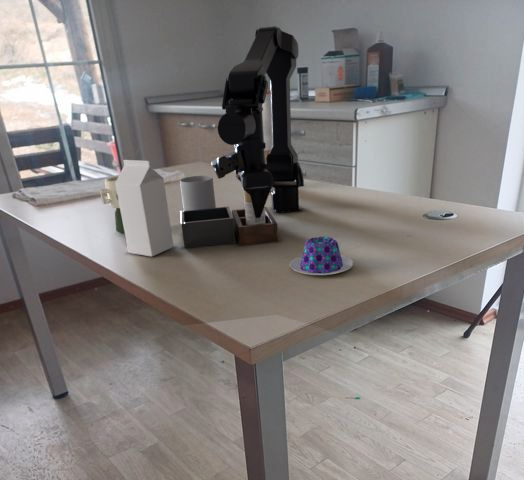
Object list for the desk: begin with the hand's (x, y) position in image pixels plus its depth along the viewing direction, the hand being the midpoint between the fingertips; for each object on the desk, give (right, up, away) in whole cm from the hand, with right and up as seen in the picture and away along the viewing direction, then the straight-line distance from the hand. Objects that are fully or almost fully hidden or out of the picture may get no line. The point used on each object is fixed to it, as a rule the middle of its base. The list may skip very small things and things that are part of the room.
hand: (255, 212), depth 116 cm
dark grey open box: (-11, -5, +5) cm, 13 cm away
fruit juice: (+4, +20, +48) cm, 52 cm away
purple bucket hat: (+13, -15, -16) cm, 26 cm away
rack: (0, -3, +6) cm, 7 cm away
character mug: (-31, -1, +14) cm, 34 cm away
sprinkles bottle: (0, -5, +3) cm, 6 cm away
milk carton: (-23, -9, -1) cm, 25 cm away
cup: (-15, +4, +21) cm, 26 cm away
